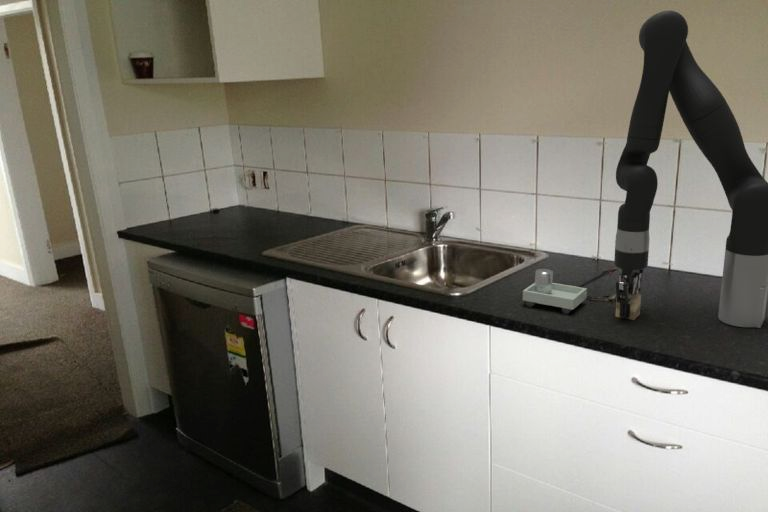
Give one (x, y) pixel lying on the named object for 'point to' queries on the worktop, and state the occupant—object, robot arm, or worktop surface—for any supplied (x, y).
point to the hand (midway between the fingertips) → (627, 313)
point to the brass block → (631, 307)
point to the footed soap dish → (556, 296)
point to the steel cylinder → (543, 281)
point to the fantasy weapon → (605, 298)
